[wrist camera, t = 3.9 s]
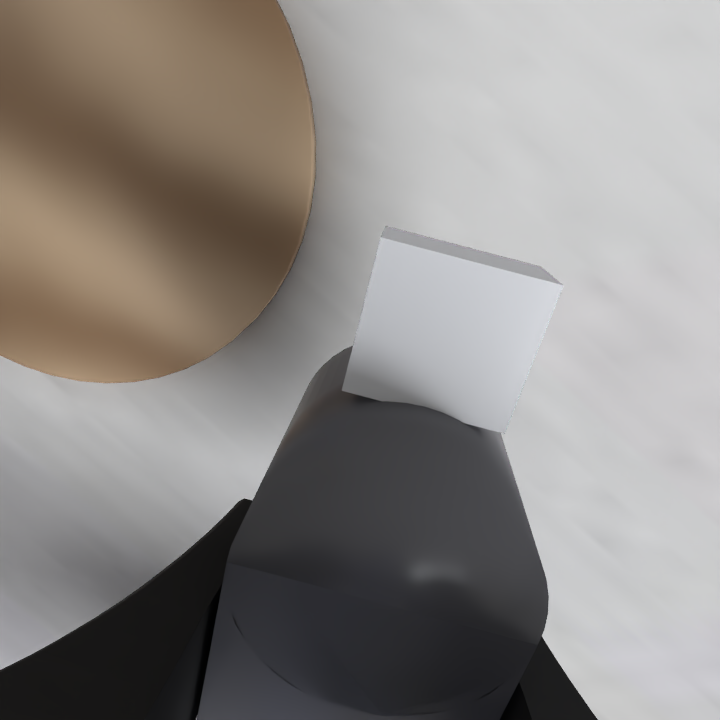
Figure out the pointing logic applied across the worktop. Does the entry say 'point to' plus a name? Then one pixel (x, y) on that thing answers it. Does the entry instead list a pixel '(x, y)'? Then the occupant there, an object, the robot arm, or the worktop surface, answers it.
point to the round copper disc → (146, 179)
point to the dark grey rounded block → (395, 511)
